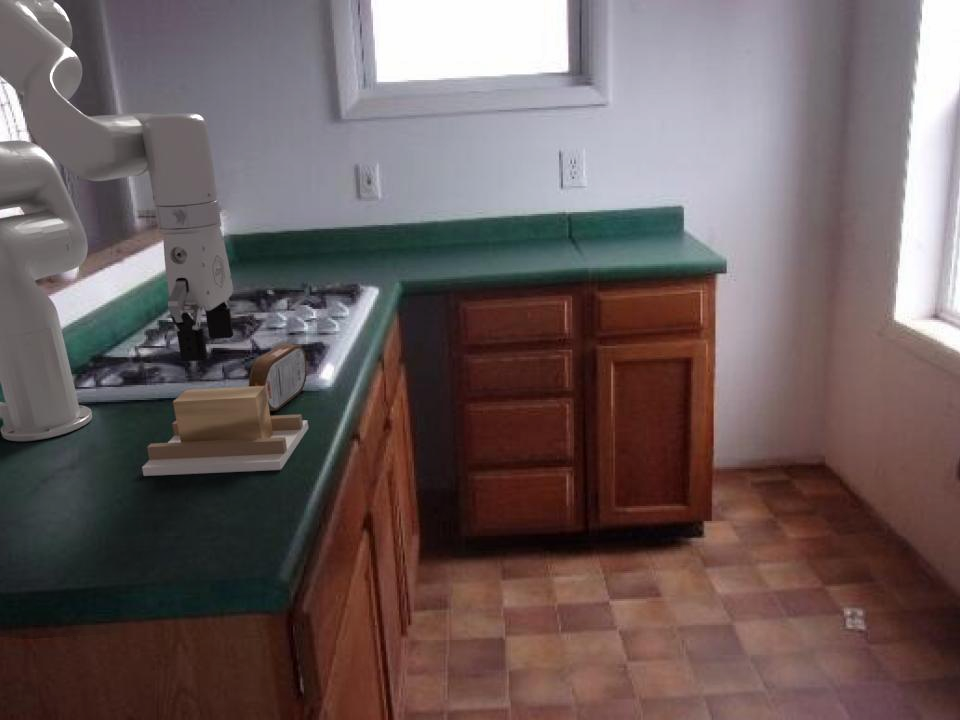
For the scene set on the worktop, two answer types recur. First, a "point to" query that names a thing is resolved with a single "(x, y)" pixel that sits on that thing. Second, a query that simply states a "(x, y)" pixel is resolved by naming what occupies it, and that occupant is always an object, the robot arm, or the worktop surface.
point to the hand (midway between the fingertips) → (208, 348)
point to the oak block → (223, 414)
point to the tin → (280, 374)
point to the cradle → (227, 451)
